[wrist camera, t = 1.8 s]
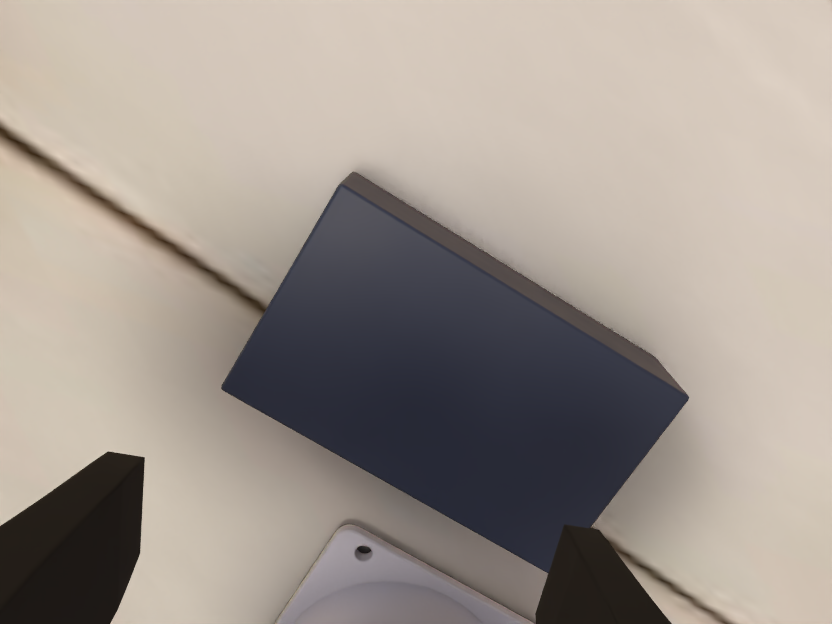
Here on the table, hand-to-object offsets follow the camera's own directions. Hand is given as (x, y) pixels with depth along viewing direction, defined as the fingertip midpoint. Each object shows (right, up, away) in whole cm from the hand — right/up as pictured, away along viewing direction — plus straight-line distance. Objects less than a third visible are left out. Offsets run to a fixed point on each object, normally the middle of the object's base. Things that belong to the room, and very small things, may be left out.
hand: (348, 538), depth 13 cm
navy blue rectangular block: (+2, +3, +9) cm, 9 cm away
